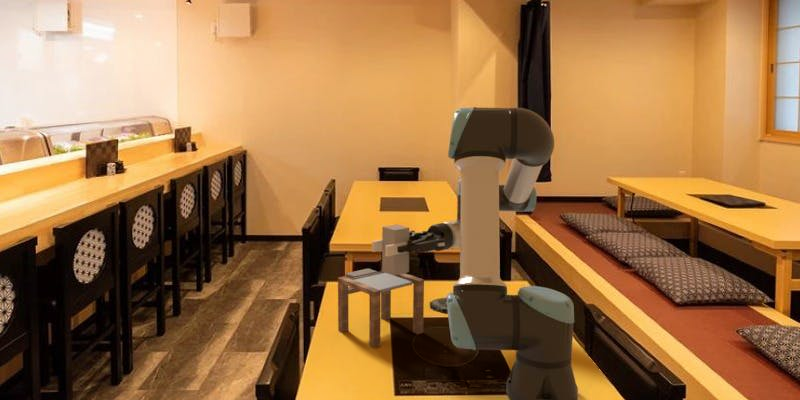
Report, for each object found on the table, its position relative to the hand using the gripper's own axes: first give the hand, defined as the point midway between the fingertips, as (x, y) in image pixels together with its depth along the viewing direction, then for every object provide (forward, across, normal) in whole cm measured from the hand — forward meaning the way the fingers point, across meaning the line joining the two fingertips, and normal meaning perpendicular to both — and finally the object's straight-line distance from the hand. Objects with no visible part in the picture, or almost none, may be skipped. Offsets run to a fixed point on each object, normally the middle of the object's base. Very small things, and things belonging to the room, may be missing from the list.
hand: (379, 248), depth 162 cm
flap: (-4, +7, -12) cm, 14 cm away
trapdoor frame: (-4, +5, -25) cm, 26 cm away
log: (-33, +8, -26) cm, 42 cm away
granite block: (-5, 0, -7) cm, 9 cm away
